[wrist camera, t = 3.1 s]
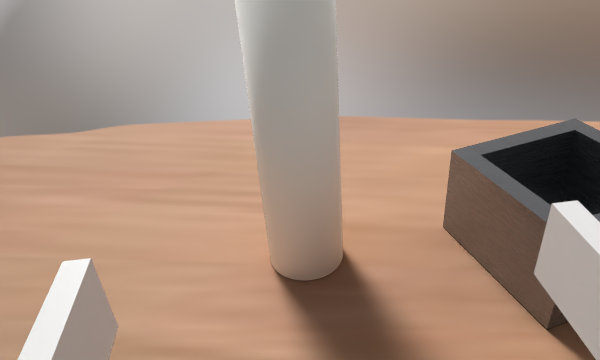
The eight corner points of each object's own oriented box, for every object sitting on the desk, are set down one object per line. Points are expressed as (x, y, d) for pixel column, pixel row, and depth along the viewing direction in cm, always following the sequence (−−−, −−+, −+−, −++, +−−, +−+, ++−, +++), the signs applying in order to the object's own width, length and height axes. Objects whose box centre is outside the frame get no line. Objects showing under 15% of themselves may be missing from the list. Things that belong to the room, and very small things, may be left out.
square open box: (546, 329, 22) (573, 242, 19) (442, 226, 28) (451, 150, 25) (681, 277, 24) (723, 192, 21) (555, 192, 30) (575, 118, 27)
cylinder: (283, 289, 25) (248, 3, 17) (261, 242, 28) (223, -16, 20) (355, 267, 26) (352, -13, 18) (326, 224, 29) (313, -29, 21)
